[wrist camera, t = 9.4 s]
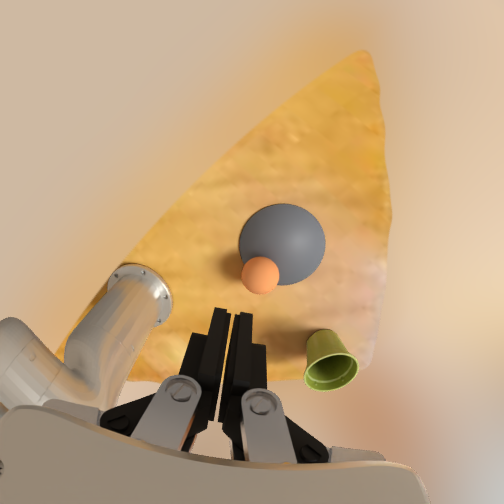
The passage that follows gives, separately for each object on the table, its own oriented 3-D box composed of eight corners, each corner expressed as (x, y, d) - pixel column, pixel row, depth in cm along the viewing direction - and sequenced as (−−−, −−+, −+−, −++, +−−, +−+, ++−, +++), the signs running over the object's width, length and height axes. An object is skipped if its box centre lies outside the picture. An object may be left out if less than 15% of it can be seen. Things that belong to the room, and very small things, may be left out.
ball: (251, 306, 39) (280, 294, 36) (228, 277, 38) (256, 262, 35) (263, 285, 44) (290, 272, 41) (242, 259, 43) (269, 244, 40)
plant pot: (348, 317, 45) (362, 348, 37) (345, 355, 49) (356, 386, 41) (296, 325, 46) (303, 358, 38) (299, 362, 50) (304, 395, 41)
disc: (301, 295, 44) (302, 296, 44) (227, 267, 42) (227, 267, 42) (339, 225, 39) (339, 225, 39) (259, 189, 38) (259, 190, 38)
